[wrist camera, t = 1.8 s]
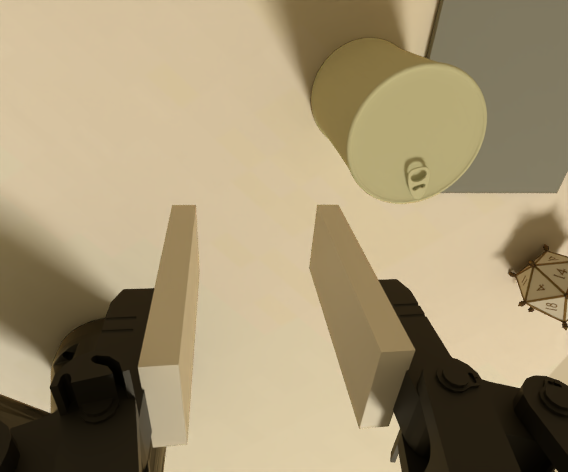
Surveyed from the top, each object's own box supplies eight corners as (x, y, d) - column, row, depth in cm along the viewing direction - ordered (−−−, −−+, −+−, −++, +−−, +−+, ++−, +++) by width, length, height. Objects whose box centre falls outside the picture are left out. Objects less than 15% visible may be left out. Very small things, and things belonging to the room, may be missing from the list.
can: (319, 157, 37) (356, 222, 27) (301, 53, 32) (338, 86, 22) (415, 133, 37) (487, 189, 27) (412, 24, 32) (499, 44, 22)
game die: (500, 245, 51) (515, 259, 42) (580, 235, 48) (615, 249, 39) (510, 312, 52) (527, 341, 42) (589, 308, 48) (625, 338, 39)
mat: (394, 190, 40) (397, 192, 40) (445, -22, 31) (449, -22, 30) (553, 190, 43) (557, 193, 42) (645, -5, 33) (651, -4, 33)
